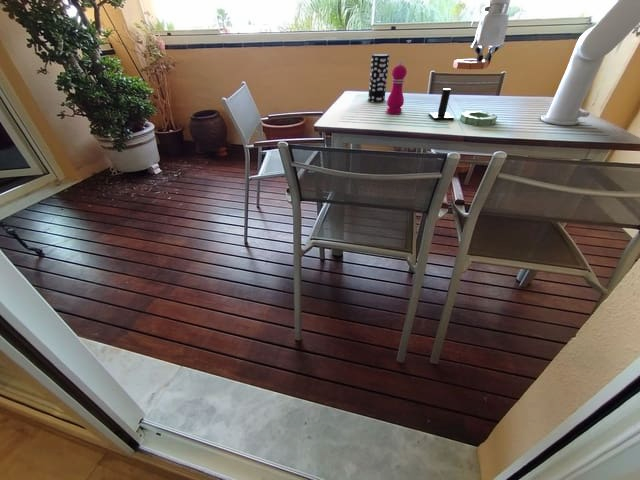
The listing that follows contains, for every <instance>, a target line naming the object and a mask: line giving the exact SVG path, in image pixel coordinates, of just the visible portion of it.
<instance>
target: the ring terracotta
mask: <svg viewBox="0 0 640 480" xmlns="http://www.w3.org/2000/svg"><path fill="white" fill-rule="evenodd" d="M476 60H477V58H463V59H462V58H459V59H456V60H455V59H454V60H453V63H452V68H454V69H458V70H484V69H488V67H489V65H488V63H489V61H487V60H485V59H483V60H482V61H480V62H476ZM487 66H488V67H487Z"/></svg>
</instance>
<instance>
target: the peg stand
mask: <svg viewBox="0 0 640 480" xmlns="http://www.w3.org/2000/svg"><path fill="white" fill-rule="evenodd" d="M451 91H452V89H451V88H448V87H447V88H446V87H445V88H443V89H442V91H441V97H440V101H439V106H438V110H437V112H428V117H430V118H431V119H432V120H433V121H454V119H455V117H454V116H453V115H452V114H450V113H449V112H447V108H448V104H449V100H450V95H451Z"/></svg>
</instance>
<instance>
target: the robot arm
mask: <svg viewBox="0 0 640 480" xmlns="http://www.w3.org/2000/svg"><path fill="white" fill-rule="evenodd" d="M510 3H511V0H487V3H486V5H485V6H483V7H482V9H481V11H482V12H484V14H483V15H482V16H481V19H480V21H479V24H478V27H477V29H476V32H475V37H474V41H473V42H472V44H471V45H470V49H472V50H473V51H474V52H475V53H476V59H477V60H476V62H480V61H482V60H487V61H489V63H488V66H487V68H488V67H489V65H490V64H491V60H492V57H493V55H494V54H495V53H496V52H497V51H498V50H501V49H502V48H503V47H504V42H505V39H506V34H507V30H508V25H509V14H507V13H508V10H509V8H510V7H509V6H510ZM609 7H610V8H609V9H608V10H607V12H605V14H604V15H603V16H602V17H601V18H600V19H599V20H598V21H597V23H596V24H595V25H594V26H591V27H589V28H588V29H586V30H585V31H584V32H583V33H582V34H581V35H580V36H579V38H578V40H577V41H576V44H575V46H574V49H573V51H572V54H571V56H570V59H569V62H568V64H567V66H566V70H565V71H564V73H563V76H562V78H561V81H560V83H559V85H558V88H557V90H556V92H555V94H554V97H553V99H552V102H551V103H550V107H549V109H548V111H547V113H546V114H542V115H541V117H540V120H541V121H543V122H545V123H548V124H551V125H557V126H558V125H559V126H575V125H578V124H579V122H580V120H579V118H581V117H582V118H588V117H589V116H590V114H591V113H590V111H582V110H581V107H582V106H583V103H584V101H585V100H586V97H587V95H588V93H589V91H590V89H591V88H592V85H593V84H594V81H595V79H596V76H597V75H598V73H599V70H600V69H601V66H602V64H603V61H604V59H605V57H606V56H607V55H608V54H609V53H611V52H612V51H613V50H614V49H615V48H616V47H617V46H619V44H621V42H622V41H624V39H625V38H626V37H628V36H629V35H630V33H632V31H634V30H635V29H636V28H637V27H638V25H639V24H640V0H613V2H612V4H611V5H610V6H609ZM485 47H488V49H487V50H488V51H487V54H485V57H484V55H483V54H484V51H485Z"/></svg>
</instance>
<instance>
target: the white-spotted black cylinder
mask: <svg viewBox="0 0 640 480" xmlns="http://www.w3.org/2000/svg"><path fill="white" fill-rule="evenodd" d="M389 63H390V54H388V53H387V54H386V53H373V54H371V59H370V74H369V85H368V97H367V98H368V99H367V100H368V102H369V103H383V102H385V101H386V92H387V91H386V90H387V84H388V83H387V82H388V74H389Z"/></svg>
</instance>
